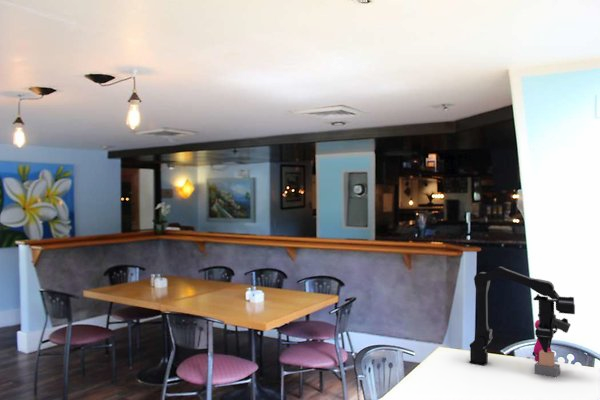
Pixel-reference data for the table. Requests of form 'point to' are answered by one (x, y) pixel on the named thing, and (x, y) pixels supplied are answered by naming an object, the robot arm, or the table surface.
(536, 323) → the pepper mill
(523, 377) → the table surface
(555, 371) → the gray box
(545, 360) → the terracotta block
